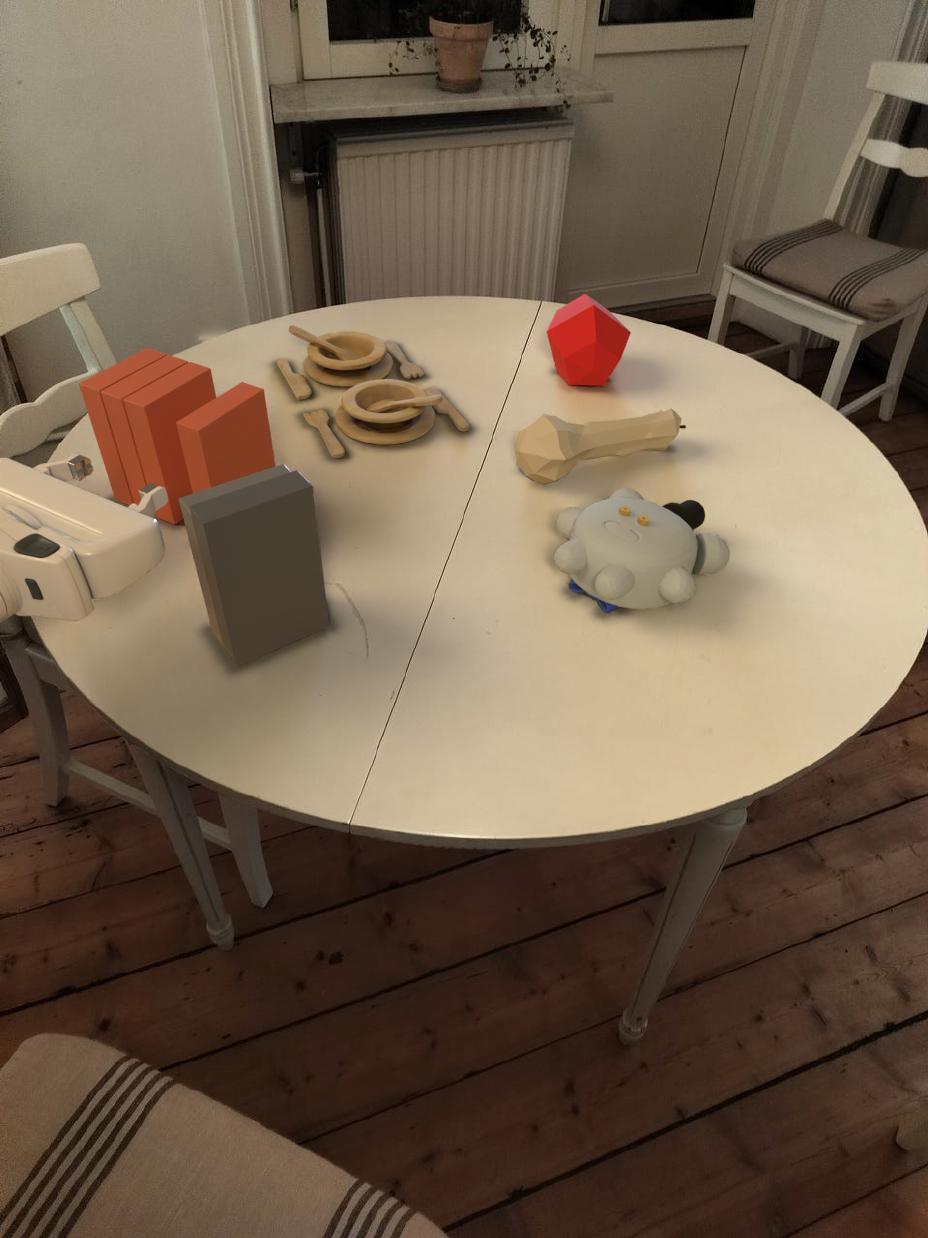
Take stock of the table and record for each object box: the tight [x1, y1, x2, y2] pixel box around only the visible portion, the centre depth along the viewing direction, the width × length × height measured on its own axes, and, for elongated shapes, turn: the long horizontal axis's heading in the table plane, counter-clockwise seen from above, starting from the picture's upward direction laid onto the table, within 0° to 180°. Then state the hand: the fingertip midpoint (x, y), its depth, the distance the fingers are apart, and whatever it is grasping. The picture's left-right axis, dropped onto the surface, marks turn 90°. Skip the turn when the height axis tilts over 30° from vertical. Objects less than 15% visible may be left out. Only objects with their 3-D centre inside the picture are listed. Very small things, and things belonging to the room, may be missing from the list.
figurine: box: [553, 487, 731, 614], centre depth 89 cm, size 17×8×20 cm
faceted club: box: [514, 408, 687, 485], centre depth 104 cm, size 9×8×25 cm
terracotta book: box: [176, 381, 276, 493], centre depth 91 cm, size 10×3×15 cm, turn 151°
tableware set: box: [276, 324, 470, 459], centre depth 116 cm, size 30×20×6 cm, turn 24°
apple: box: [546, 293, 632, 387], centre depth 121 cm, size 12×12×15 cm
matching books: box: [78, 347, 217, 525], centre depth 95 cm, size 10×9×15 cm
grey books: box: [179, 463, 330, 667], centre depth 77 cm, size 10×6×17 cm, turn 125°
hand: (123, 476), depth 77 cm, fingers open, 8 cm apart
